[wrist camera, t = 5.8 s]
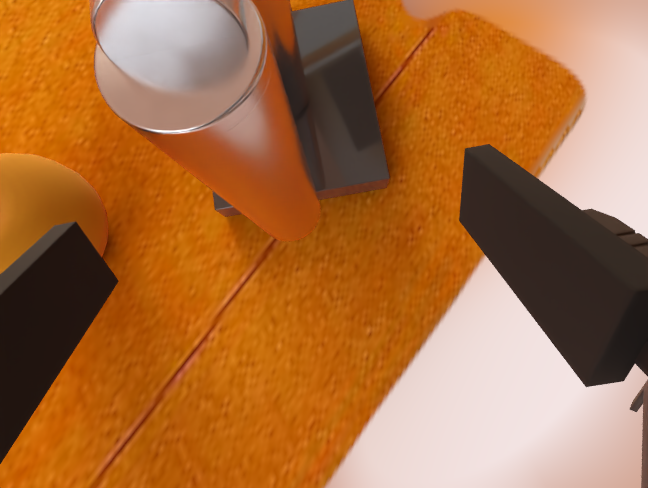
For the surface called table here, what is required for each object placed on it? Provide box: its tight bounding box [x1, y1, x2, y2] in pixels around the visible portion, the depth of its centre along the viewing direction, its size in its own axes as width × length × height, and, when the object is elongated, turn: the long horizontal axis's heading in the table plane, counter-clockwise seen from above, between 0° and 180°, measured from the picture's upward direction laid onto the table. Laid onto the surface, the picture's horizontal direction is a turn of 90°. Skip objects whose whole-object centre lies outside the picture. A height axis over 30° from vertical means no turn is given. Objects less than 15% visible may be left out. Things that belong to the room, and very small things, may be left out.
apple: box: [0, 153, 108, 274], centre depth 21 cm, size 9×9×9 cm
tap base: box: [213, 0, 390, 217], centre depth 25 cm, size 14×12×2 cm
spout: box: [90, 0, 321, 241], centre depth 14 cm, size 13×3×18 cm, turn 9°
